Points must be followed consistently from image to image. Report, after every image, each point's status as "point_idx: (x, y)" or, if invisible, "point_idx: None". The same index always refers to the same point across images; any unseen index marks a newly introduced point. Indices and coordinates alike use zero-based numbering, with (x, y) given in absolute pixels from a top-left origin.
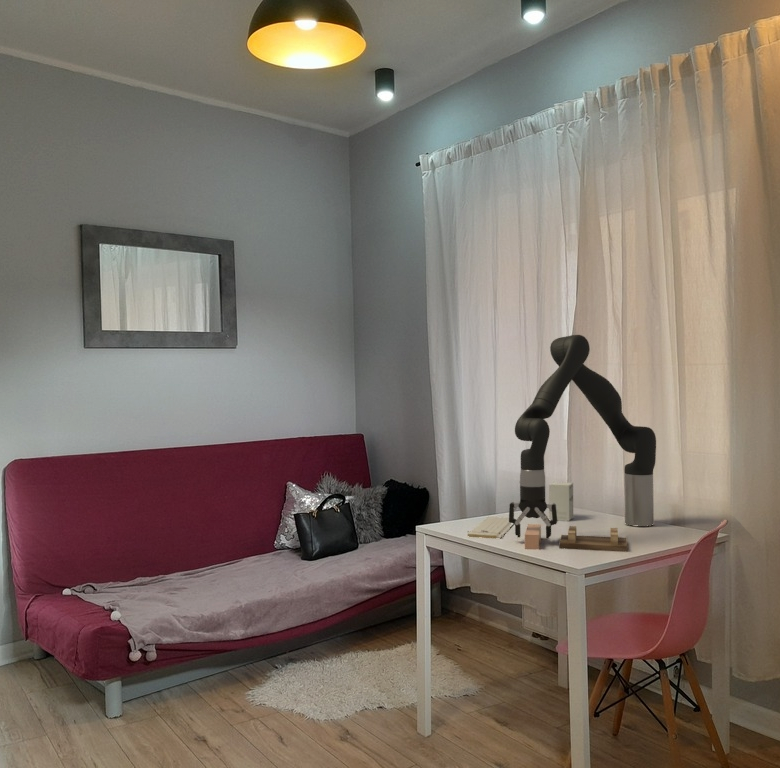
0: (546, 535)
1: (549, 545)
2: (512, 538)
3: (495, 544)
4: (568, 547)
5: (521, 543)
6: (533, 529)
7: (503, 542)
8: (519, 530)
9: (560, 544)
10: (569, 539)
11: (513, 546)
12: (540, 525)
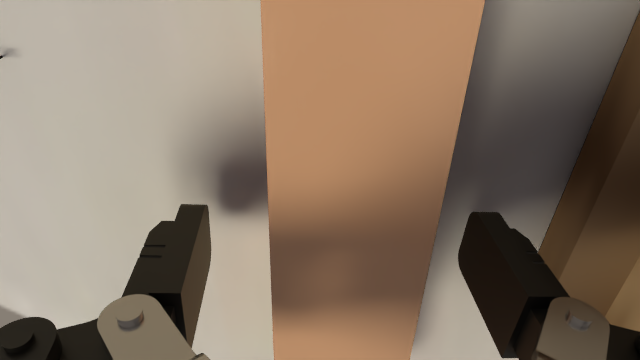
0: (470, 283)
1: None
2: (90, 12)
3: (30, 282)
4: None
5: (233, 217)
6: (352, 291)
7: (66, 209)
8: (197, 311)
9: None
10: None
11: None
12: (473, 30)
